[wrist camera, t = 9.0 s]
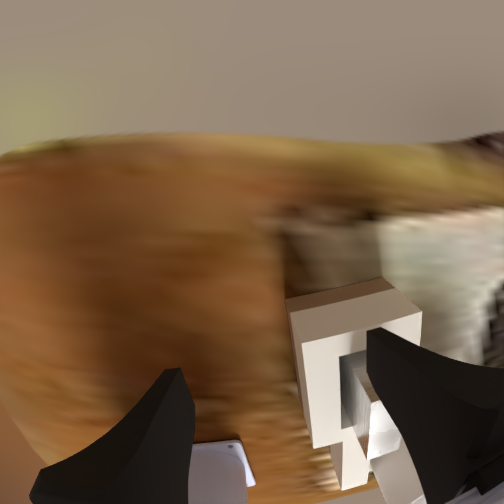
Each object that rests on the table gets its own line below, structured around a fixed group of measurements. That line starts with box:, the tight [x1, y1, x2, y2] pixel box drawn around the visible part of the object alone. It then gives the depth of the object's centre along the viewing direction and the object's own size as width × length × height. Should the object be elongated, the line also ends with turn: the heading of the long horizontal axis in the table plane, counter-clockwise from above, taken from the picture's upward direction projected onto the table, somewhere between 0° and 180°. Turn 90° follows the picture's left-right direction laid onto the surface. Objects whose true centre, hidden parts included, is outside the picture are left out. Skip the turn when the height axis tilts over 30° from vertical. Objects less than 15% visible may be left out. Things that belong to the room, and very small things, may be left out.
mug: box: [370, 436, 427, 504], centre depth 21 cm, size 12×8×10 cm
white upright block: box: [339, 349, 401, 460], centre depth 17 cm, size 2×5×7 cm, turn 11°
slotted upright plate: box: [285, 277, 422, 491], centre depth 21 cm, size 7×18×6 cm, turn 10°
